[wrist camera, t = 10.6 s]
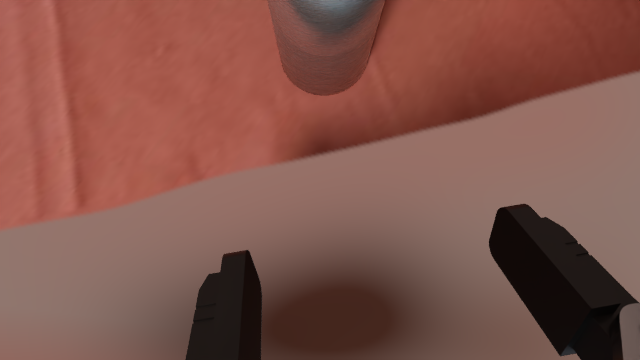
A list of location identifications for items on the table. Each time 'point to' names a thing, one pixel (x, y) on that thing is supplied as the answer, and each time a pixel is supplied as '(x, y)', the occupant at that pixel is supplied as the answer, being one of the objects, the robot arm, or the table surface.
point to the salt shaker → (324, 41)
